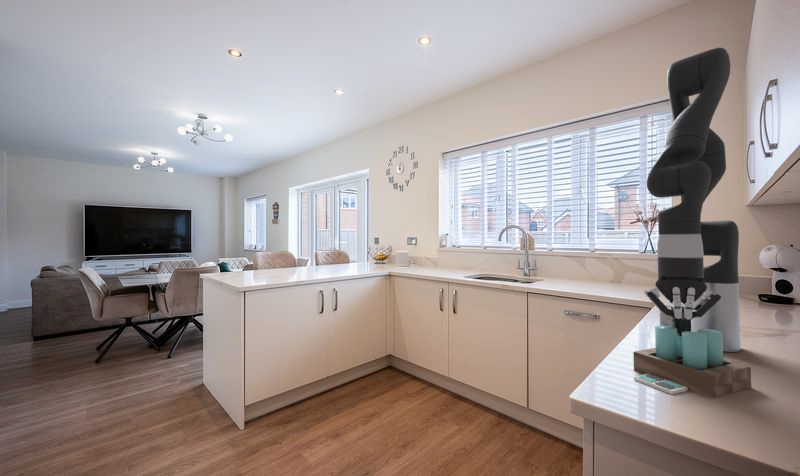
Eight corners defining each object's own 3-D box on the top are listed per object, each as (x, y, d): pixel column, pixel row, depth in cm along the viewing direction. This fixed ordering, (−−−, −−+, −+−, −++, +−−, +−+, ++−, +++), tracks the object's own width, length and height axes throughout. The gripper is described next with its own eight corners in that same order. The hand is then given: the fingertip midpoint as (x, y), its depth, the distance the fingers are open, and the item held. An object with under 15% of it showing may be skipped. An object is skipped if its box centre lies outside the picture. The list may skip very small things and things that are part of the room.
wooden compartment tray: (670, 362, 76) (669, 345, 76) (751, 387, 62) (750, 366, 63) (633, 369, 72) (633, 351, 72) (712, 398, 58) (711, 376, 59)
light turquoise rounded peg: (690, 367, 66) (689, 330, 66) (711, 374, 63) (710, 335, 63) (678, 370, 65) (677, 332, 65) (700, 377, 62) (699, 337, 62)
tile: (648, 376, 68) (648, 372, 68) (687, 390, 62) (687, 386, 62) (633, 379, 67) (633, 375, 67) (672, 394, 60) (672, 390, 60)
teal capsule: (678, 366, 73) (677, 332, 73) (697, 372, 69) (696, 336, 69) (667, 368, 71) (666, 334, 71) (686, 374, 68) (685, 338, 68)
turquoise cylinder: (705, 364, 68) (704, 328, 68) (727, 370, 64) (726, 332, 65) (694, 366, 67) (693, 329, 67) (716, 373, 63) (715, 334, 63)
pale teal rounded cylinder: (663, 359, 71) (662, 324, 71) (682, 365, 68) (681, 329, 68) (651, 361, 70) (651, 326, 70) (670, 367, 66) (669, 330, 66)
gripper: (712, 254, 71) (714, 334, 71) (638, 254, 77) (640, 328, 77) (728, 256, 64) (731, 344, 64) (646, 255, 70) (648, 336, 70)
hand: (681, 335), depth 70 cm, fingers closed
